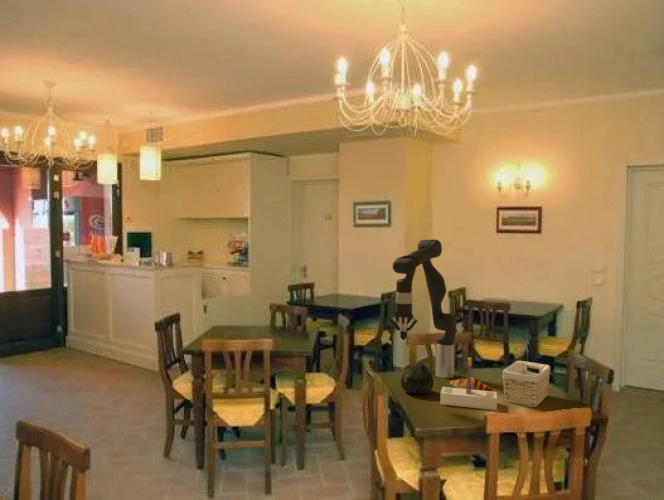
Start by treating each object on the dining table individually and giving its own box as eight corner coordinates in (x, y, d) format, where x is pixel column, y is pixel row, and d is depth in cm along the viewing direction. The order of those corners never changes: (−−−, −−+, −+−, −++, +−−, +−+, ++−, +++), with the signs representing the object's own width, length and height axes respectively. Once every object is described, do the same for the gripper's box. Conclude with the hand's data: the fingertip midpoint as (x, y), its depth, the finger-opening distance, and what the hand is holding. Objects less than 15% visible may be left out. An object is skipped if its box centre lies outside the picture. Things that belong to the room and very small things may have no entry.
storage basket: (537, 409, 238) (538, 376, 237) (500, 402, 247) (500, 370, 246) (550, 395, 257) (551, 365, 257) (516, 389, 267) (517, 359, 266)
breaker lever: (467, 389, 245) (468, 357, 245) (470, 389, 245) (471, 357, 244) (466, 391, 243) (467, 358, 242) (470, 391, 242) (471, 359, 242)
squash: (395, 376, 267) (404, 358, 257) (423, 375, 271) (433, 358, 261) (402, 402, 257) (411, 384, 247) (431, 401, 261) (442, 384, 251)
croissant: (447, 394, 268) (444, 381, 265) (455, 380, 275) (452, 368, 272) (489, 402, 256) (486, 389, 253) (496, 387, 263) (493, 375, 259)
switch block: (443, 391, 262) (444, 376, 261) (496, 396, 255) (496, 381, 254) (440, 404, 243) (440, 388, 242) (496, 410, 236) (496, 394, 236)
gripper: (419, 301, 251) (419, 338, 252) (391, 300, 255) (390, 336, 256) (417, 303, 244) (416, 342, 245) (388, 302, 248) (387, 340, 249)
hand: (403, 339), depth 250 cm, fingers closed
